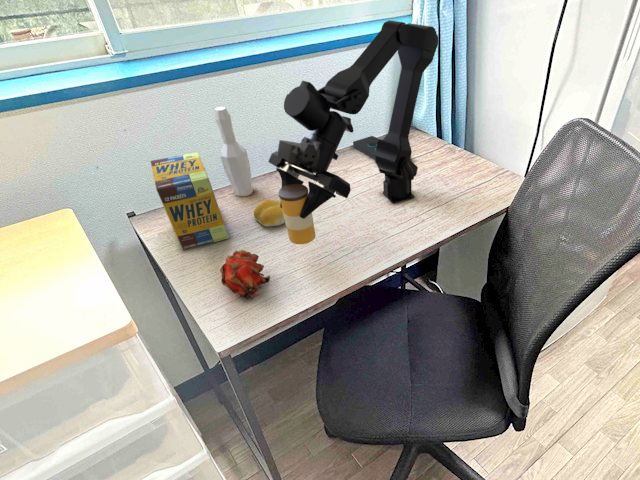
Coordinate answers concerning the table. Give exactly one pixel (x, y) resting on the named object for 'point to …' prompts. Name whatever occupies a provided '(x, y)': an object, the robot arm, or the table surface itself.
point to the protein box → (189, 200)
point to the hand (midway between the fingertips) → (291, 213)
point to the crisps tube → (296, 213)
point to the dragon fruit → (243, 274)
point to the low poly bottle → (233, 156)
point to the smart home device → (367, 146)
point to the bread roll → (269, 213)
